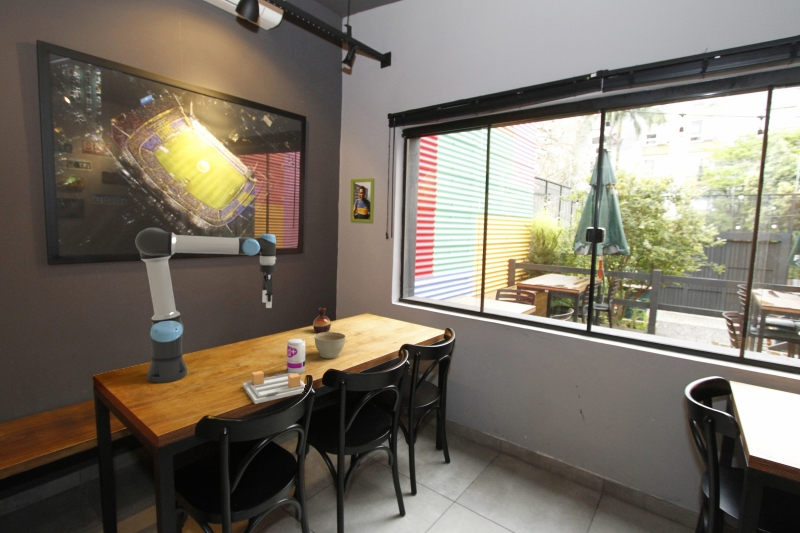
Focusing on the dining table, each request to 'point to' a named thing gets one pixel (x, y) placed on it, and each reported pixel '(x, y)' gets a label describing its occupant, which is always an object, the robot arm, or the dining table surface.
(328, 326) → the vase
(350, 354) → the dining table surface
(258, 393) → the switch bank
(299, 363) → the supplement can
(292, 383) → the tab
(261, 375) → the orange block
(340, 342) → the planter bowl
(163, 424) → the dining table surface
